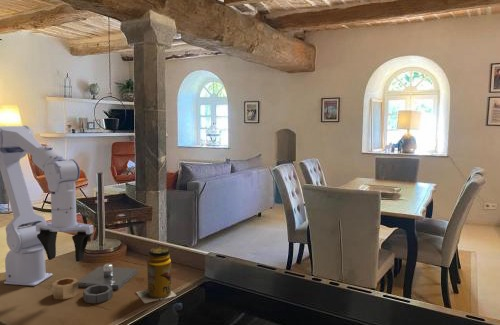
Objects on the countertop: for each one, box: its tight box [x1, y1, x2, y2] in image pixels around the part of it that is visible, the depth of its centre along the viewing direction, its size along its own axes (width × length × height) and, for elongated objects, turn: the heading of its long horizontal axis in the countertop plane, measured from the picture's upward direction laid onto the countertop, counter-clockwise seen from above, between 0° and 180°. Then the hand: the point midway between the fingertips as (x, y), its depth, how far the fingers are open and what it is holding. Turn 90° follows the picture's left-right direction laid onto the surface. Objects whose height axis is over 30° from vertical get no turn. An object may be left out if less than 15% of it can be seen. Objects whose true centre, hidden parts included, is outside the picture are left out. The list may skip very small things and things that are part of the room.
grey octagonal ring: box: [82, 284, 114, 304], centre depth 101 cm, size 7×7×2 cm
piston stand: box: [78, 263, 138, 291], centre depth 112 cm, size 12×12×4 cm
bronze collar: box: [52, 277, 79, 301], centre depth 102 cm, size 6×6×3 cm
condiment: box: [135, 246, 177, 304], centre depth 102 cm, size 7×8×12 cm
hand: (65, 259), depth 101 cm, fingers open, 7 cm apart
